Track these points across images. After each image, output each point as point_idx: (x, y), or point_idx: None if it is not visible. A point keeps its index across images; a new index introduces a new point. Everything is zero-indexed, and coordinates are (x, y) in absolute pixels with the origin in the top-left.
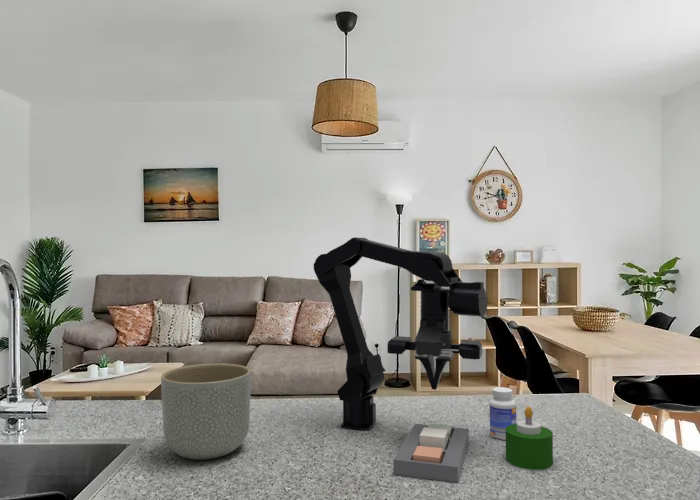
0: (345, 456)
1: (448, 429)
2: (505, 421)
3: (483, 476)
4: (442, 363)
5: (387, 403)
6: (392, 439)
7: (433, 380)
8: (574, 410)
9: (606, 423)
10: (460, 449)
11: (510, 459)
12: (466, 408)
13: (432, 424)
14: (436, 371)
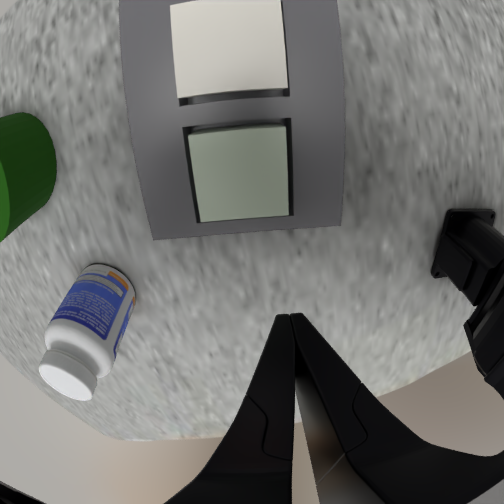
0: (456, 27)
1: (200, 173)
2: (70, 293)
3: (81, 11)
4: (199, 497)
5: (396, 369)
6: (388, 163)
7: (300, 356)
8: (86, 403)
9: (33, 368)
10: (126, 36)
11: (33, 122)
12: (238, 397)
13: (274, 207)
14: (279, 417)
